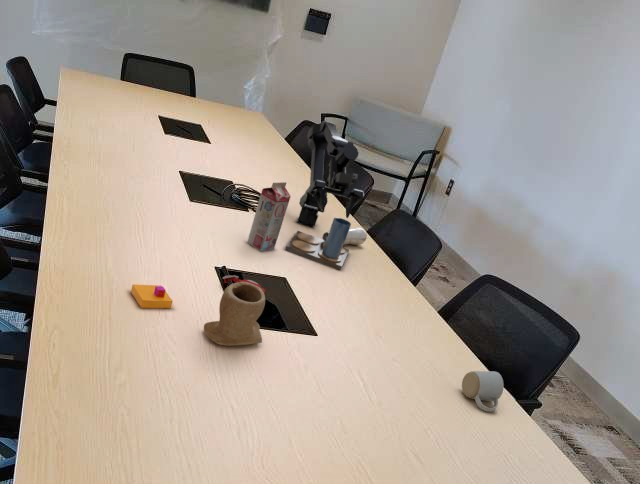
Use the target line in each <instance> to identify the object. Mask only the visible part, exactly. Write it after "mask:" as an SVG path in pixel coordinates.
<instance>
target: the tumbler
mask: <svg viewBox="0 0 640 484" xmlns="http://www.w3.org/2000/svg"><path fill="white" fill-rule="evenodd" d="M351 225H352V223H351V222H350V221H349V220H347V219H345V218H342V217H334V218H333V219H332V223H331V226H330V229H329V231H328V232H329V234H328V237H327V240H326V242H325V245H324V248H323V251H322V254H323V255H324V256H326V257H328V258H330V259H338V258H339V255H340V253H341V250H342V247H344V245H345V244H344V242H345V239H346V237H347V234H348V231H349V229H351Z"/></svg>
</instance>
